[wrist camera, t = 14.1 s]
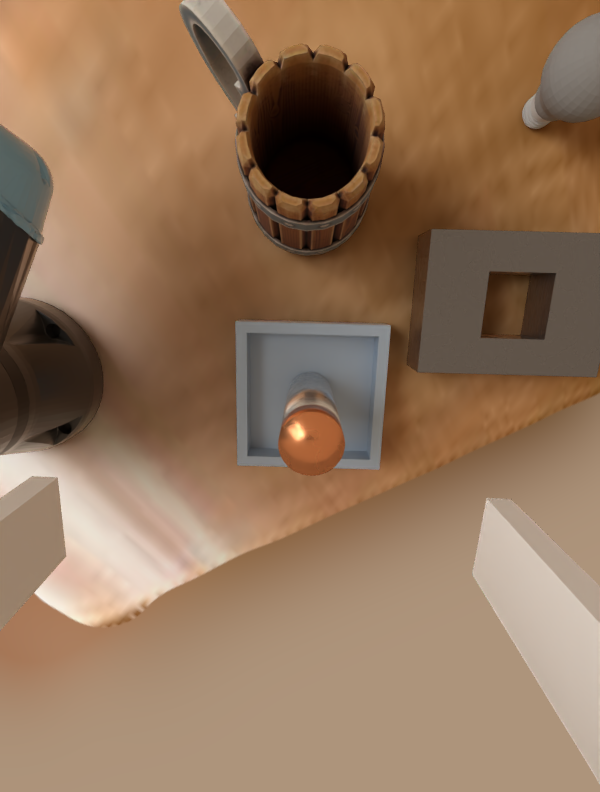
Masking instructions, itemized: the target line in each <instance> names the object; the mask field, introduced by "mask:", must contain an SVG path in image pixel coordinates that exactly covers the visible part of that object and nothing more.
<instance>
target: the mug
mask: <svg viewBox="0 0 600 792" xmlns="http://www.w3.org/2000/svg"><path fill="white" fill-rule="evenodd" d="M179 10H180V13H181V16H182V19H183V21H184V24H185V26H186V28H187V30H188V32H189V34H190V36H191V38H192V40H193V42H194V43H195V45H196V47H197V49H198V51H199V53H200V54H201V56H202V58H203V60H204V61H205V63H206V65H207V66H208V68H209V70H210V71H211V73H212V74H213V76H214V78H215V79H216V81H217V82H218V84H219V85H220V87H221V88H222V90H223V91H224V93H225V94H226V96H227V97H228V99H229V100H230V102H231V103H232V105H233V106H234V107H235V109H236V110H237V113H236V114H235V117H236V126H237V130H236V139H235V144H236V153H237V162H238V166H239V170H240V173H241V176H242V178H243V181H244V184H245V187H246V189H247V192H248V201H249V205H250V208H251V211H252V213H253V216H254V219H255V222H256V223H257V225H258V226H259V228H260V229H261V231H262V232H263V234H264V235H265V236H266V237H267V238H268V239H269V240H270V241H272V242H273V243H274V244H275V245H276V246H278V247H280V248H282V249H284V250H286V251H288V252H290V253H294V254H300V255H305V256H307V255H317V254H323V253H325V252H328V251H330V250H333V249H336V248H337V247H338V246H340V245H341V244H342V243H344V242H345V241H346V240H348V239H349V238H350V236H351V235H352V234H353V233H354V232H355V230H356V229H357V228H358V227H359V225H360V222H361V220H362V218H363V216H364V214H365V212H366V209H367V206H368V201H369V196H370V192H371V190H372V188H373V186H374V183H375V181H376V179H377V177H378V174H379V171H380V167H381V162H382V157H383V152H384V130H385V115H384V110H383V107H382V104H381V100H380V99H379V98H376V97H373V93H374V88H375V86H374V84H373V82H372V80H371V78H370V77H369V75H368V73H367V72H366V71H365V70H364V69H363V68H362V67H361V65H359V64H358V63H355V64H351V65H348V62H347V55H346V54H344V53H343V52H342V51H341V50H339V49H336V48H334V47H331V46H328V45H320V46H319V47H318V48H317V49H316V51H315V52H314V53H313V52H312V51H311V49H310V48H309V47H308V45H304V44H299V45H294V46H291V47H288V48H286V49H285V50H283V51H282V52H280V55H279V59H278V63H277V62H274V61H272V60H267V61H265V62H263V60H262V58H261V56H260V54H259V52H258V50H257V48H256V47H255V45H254V43H253V41H252V40H251V38H250V36H249V35H248V33H247V32H246V30H245V29H244V27H243V26H242V24H241V23H240V21H239V20H238V18H237V17H236V16H235V14H234V13H233V12H232V10H231V9H230V8H229V6H228V5H227V4H226V3H225V2H224V0H183V1H182V3H181V4H180V5H179Z"/></svg>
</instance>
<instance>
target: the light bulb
mask: <svg viewBox="0 0 600 792" xmlns="http://www.w3.org/2000/svg"><path fill="white" fill-rule="evenodd" d="M599 116H600V13H597V14H594V15H591V16H589V17H587V18H585V19H583V20H582V21H580V22H578V23H577V24H575V25H574V26H573V27H572V28H571V29H569V30H568V31H567V32H566V33H565V34H564V36H563V37H562V38H561V39H560V40H559V41H558V43H557V44H556V45H555V47H554V48H553V50H552V52H551V53H550V55H549V57H548V59H547V61H546V64H545V66H544V68H543V72H542V76H541V84H540V86H539V88H538V90H537V92H536V94H535V95H534V96H532V97H531V98H530V99H529V100H528V101H527V102H526V104H525V106H524V108H523V112H522V117H523V121H524V123H525V124H526V126H528V127H529V128H531V129H539V128H542V127H544V126H545V125H547V124H548V123H550V122H551V121H557V120H562V121H564V122H570V123H576V122H584V121H588V120H591V119H594V118H597V117H599Z"/></svg>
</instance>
